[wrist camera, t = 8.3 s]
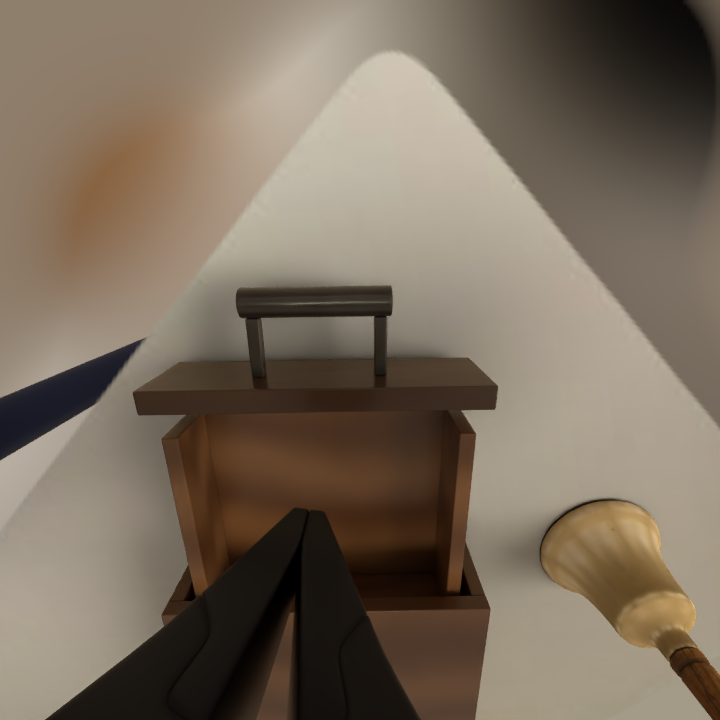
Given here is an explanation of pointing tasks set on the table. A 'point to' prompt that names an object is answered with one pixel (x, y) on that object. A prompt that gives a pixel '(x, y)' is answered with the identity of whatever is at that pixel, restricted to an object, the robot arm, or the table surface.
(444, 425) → the drawer
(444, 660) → the cabinet
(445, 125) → the table surface
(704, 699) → the hand bell
